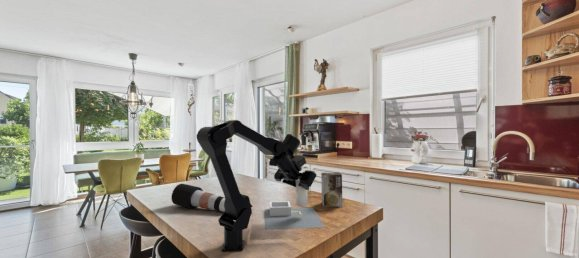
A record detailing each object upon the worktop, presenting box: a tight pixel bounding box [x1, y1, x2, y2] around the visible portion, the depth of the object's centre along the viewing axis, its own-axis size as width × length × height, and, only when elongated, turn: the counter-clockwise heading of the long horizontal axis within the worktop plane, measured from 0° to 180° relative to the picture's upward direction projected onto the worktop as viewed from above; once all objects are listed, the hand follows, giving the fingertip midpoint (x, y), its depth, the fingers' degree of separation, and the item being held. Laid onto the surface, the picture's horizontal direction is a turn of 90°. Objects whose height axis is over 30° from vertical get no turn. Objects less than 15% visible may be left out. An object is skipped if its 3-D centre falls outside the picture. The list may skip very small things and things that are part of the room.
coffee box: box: [320, 172, 343, 209], centre depth 123 cm, size 9×6×16 cm
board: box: [264, 200, 326, 230], centre depth 105 cm, size 24×22×5 cm
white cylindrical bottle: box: [295, 179, 308, 207], centre depth 105 cm, size 5×5×12 cm
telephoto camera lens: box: [171, 183, 225, 213], centre depth 118 cm, size 10×34×10 cm, turn 70°
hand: (303, 188), depth 106 cm, fingers closed on white cylindrical bottle, 5 cm apart
